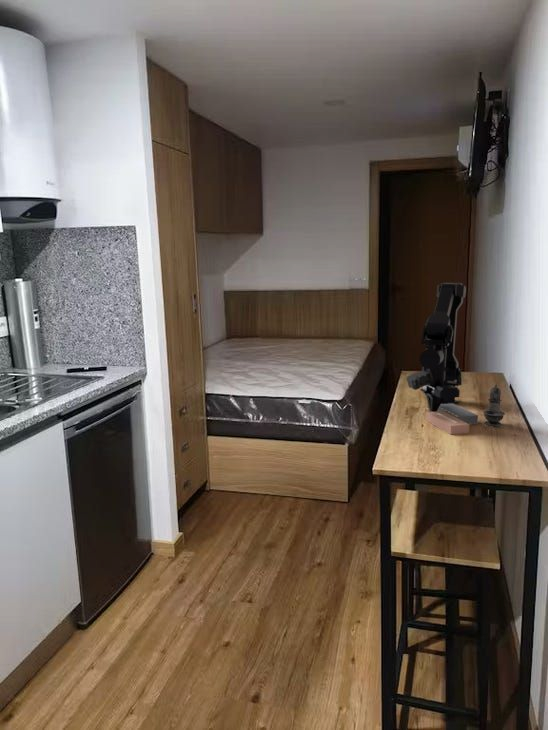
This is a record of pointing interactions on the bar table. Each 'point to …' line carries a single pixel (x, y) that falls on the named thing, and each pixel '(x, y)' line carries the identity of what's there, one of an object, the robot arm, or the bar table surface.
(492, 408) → the dark grey tiered figure
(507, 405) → the bar table surface
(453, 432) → the pink block
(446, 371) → the robot arm
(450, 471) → the bar table surface
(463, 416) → the grey flat block
